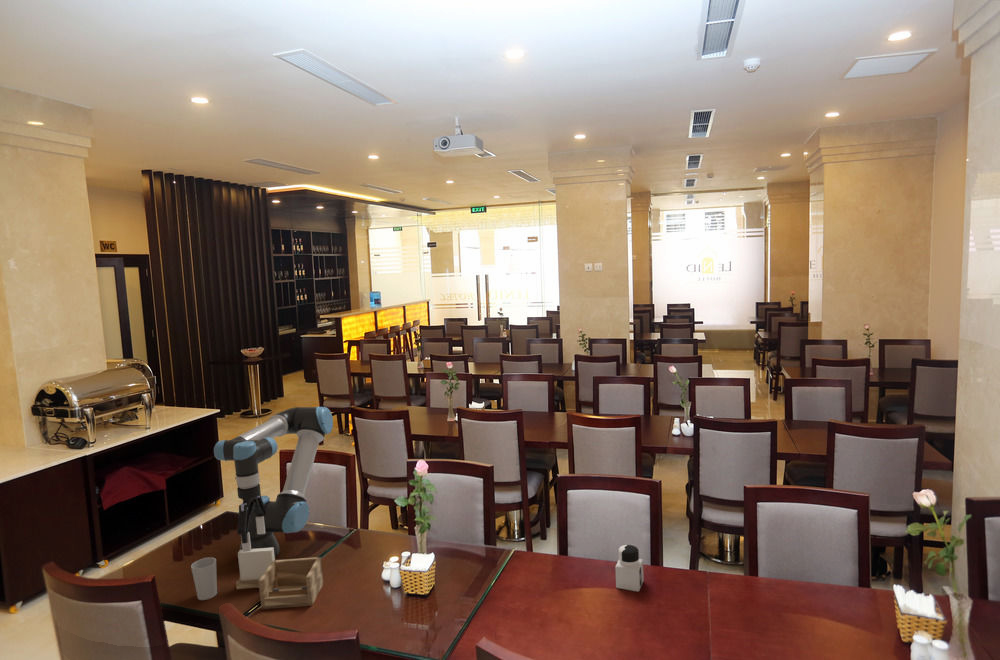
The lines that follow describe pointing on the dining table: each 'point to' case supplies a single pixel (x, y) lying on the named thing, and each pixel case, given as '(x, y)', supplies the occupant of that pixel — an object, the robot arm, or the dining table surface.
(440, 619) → the dining table surface
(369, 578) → the dining table surface
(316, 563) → the wooden box
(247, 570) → the white square slab
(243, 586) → the small wooden tray
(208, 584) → the cup
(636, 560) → the container
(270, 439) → the robot arm
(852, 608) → the dining table surface
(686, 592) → the dining table surface
